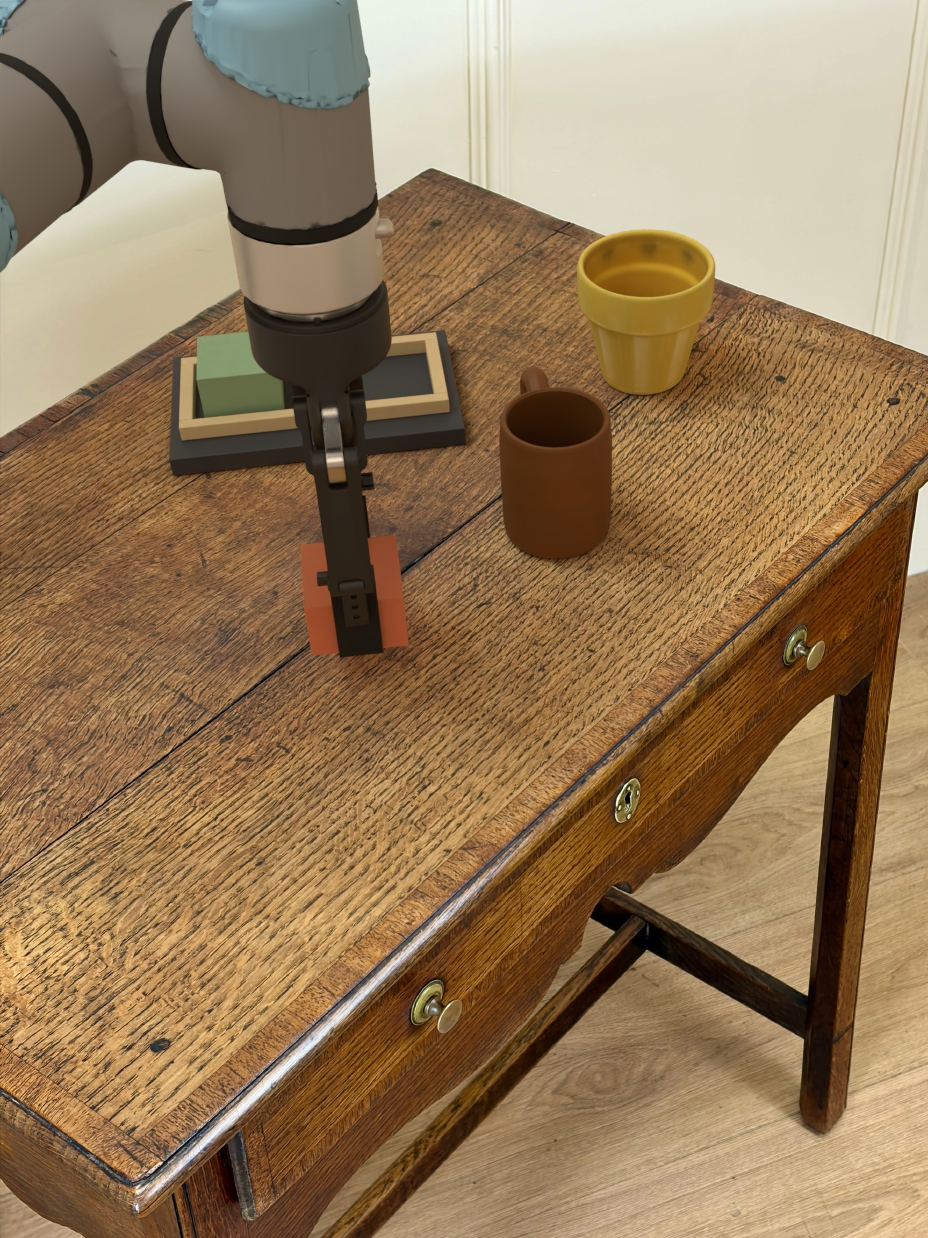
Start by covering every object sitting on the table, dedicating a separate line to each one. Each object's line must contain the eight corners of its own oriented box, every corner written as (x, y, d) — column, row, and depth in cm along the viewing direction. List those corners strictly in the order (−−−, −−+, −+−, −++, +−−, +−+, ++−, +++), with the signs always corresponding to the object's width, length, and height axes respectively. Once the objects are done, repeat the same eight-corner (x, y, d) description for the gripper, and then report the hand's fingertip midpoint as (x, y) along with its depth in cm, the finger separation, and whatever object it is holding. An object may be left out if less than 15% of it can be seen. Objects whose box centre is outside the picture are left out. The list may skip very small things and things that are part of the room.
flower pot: (645, 426, 113) (649, 313, 106) (550, 374, 118) (548, 262, 111) (734, 372, 118) (744, 260, 111) (640, 324, 123) (643, 214, 116)
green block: (206, 424, 112) (196, 379, 109) (206, 381, 116) (197, 336, 113) (285, 416, 113) (277, 371, 110) (283, 373, 117) (275, 328, 114)
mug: (481, 469, 110) (474, 359, 103) (581, 453, 111) (580, 343, 104) (515, 571, 101) (511, 458, 95) (623, 553, 102) (625, 441, 96)
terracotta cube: (311, 656, 91) (303, 608, 88) (307, 592, 95) (300, 544, 93) (408, 645, 92) (403, 597, 89) (400, 582, 96) (395, 534, 93)
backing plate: (173, 476, 110) (165, 446, 108) (176, 373, 120) (170, 344, 118) (466, 444, 112) (464, 414, 110) (446, 345, 122) (444, 316, 120)
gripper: (402, 380, 71) (431, 715, 87) (373, 194, 84) (403, 516, 100) (243, 395, 70) (304, 730, 87) (239, 205, 83) (292, 527, 100)
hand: (357, 614), depth 93 cm, fingers closed on terracotta cube, 6 cm apart
